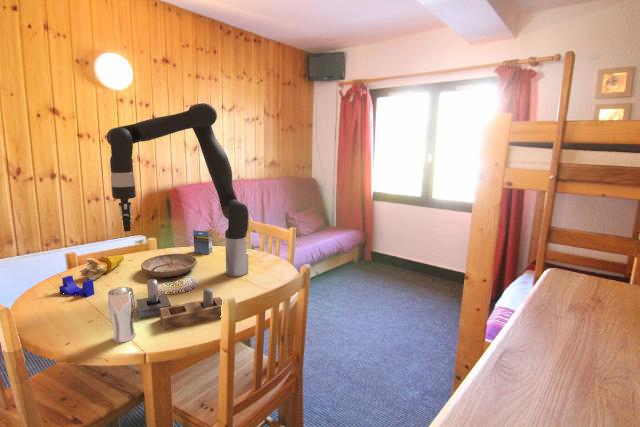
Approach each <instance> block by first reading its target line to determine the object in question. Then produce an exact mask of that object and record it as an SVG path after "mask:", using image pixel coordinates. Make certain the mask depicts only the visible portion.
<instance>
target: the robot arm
mask: <svg viewBox="0 0 640 427" xmlns="http://www.w3.org/2000/svg"><path fill="white" fill-rule="evenodd" d="M217 118H218V114H217V111H216V109H215V107H214V106H212V105H210V104H209V103H205V102H202V103H197V104H193V105H191V106H190V107H189V108H188V110H186V111H183V112H179V113H175V114H168V115H165V116H157V117H153V118H149V119H146V120H145V119H144V120H142V121H139V122H136V123H132V124H128V125H122V126H117V127H113V128H111V129H109V130H108V132H107V133H106V141H107V143H108V144H109V146H110V153H111V156H110V158H109V166H110V185H111V186H110V187H111V188H110V189H111V196H112V199H114V200H119V201H120V202H118V208H119V213H120V216H121V217H122V218H121V221H122V226H123V232H124V233H126V232H130V231H131V232H132V230H131V229H132V227H131V226H132V225H131V219H132V218H131V216H132V203H131V202H132V201H129V200H130V199H134V198H136V196H137V193H136V191H137V190H136V181H135V174H134V165H133V164H134V163H133V148H134V144H137V143H141V142H149V141H152V140H156V139H159V138H163V137H165V136H166V137H167V136H168V135H171V134H175V133H178V132H181V131H185V130H186V131H187V130H190V129H192V130H193V132H194V134H195V137H196V139H197V141H198V143H199V147H200V150H201V153H202V156H203V158H204V162H205V165H206V167H207V171H208V173H209V175H210V178H211V180H212V183H213V186H214V188H215V190H216V193H217V196H218V199H219V204H220V208H221V212H222V215H223V216H224V218H225V219H227V221H228V224H227V225H228V226H227V229H226V230H225V232H224V234H225V236H224V238H225V240H224V241H225V275H226V276H229V277H243V276H245V275H247V273H248V274H249V253H248V252H247V250H248V247H247V243H248V242H247V233H248V231H249V209H248V206H247V205H246V204H245V203H244V202H242V201H239V200H238V197H237V196H236V194H235V193H236V192H235V190H234V187H233V186H234V185H233V170H232V167H231V164H230V161H229V158H228V155H227V153H226V152H225V150H224V149H223V147H222V145H221V144H220V142H219V141H218V139H217V138H216V135H215V132H214V130H213V125H215V123H216V121H217Z"/></svg>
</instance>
